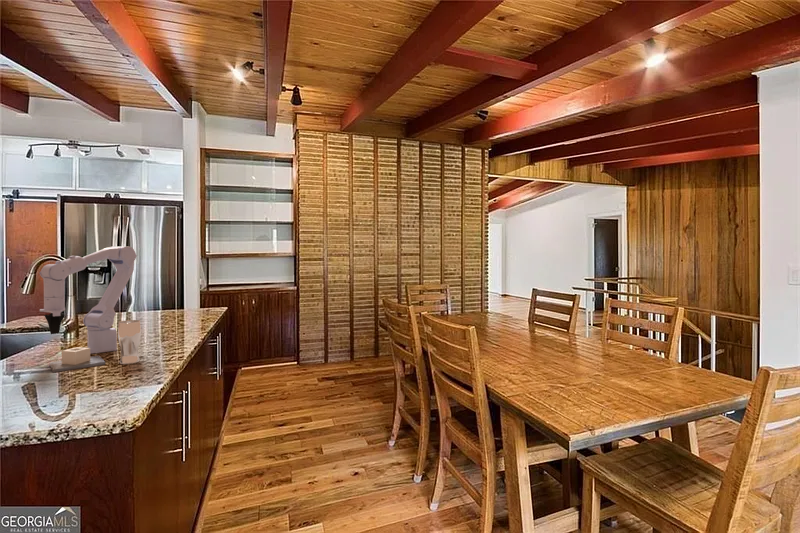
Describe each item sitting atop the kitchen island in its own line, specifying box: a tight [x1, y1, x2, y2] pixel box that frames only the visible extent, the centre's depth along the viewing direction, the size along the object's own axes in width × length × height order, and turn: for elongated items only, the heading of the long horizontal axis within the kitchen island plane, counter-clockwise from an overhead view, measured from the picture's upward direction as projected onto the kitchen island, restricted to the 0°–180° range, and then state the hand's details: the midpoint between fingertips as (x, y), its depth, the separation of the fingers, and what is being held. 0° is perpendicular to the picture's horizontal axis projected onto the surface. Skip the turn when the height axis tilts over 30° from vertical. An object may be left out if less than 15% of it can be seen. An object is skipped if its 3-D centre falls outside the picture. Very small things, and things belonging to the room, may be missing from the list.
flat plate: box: [49, 355, 106, 373], centre depth 141 cm, size 14×12×4 cm
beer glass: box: [117, 319, 142, 365], centre depth 145 cm, size 7×7×15 cm
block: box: [61, 346, 91, 365], centre depth 141 cm, size 6×6×4 cm
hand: (54, 333), depth 146 cm, fingers closed
